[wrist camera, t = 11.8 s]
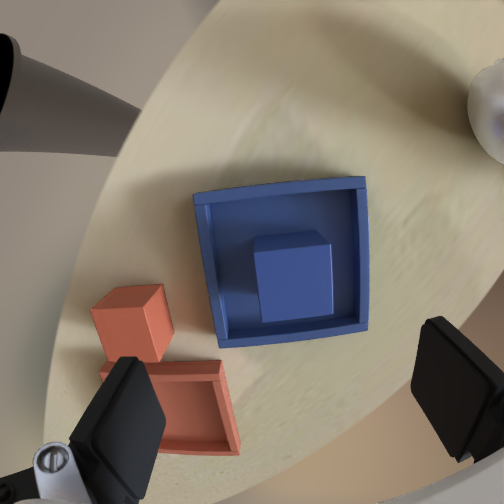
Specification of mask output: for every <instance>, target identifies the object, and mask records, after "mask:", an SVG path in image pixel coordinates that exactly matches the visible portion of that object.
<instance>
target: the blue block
mask: <svg viewBox="0 0 504 504" xmlns="http://www.w3.org/2000/svg"><path fill="white" fill-rule="evenodd" d="M253 258H254V266H255V274H256V282H257V290H258V299H259V307H260V315H261V322H262V323H264V322H273V321H282V320H291V319H299V318H307V317H315V316H322V315H330V314H333V277H332V254H331V244H330V243H329V242H328V241H327V240H326V239H325V238H324V237H323V236H322V235H321V234H320V233H319V232H318V231H317V230H312V231H302V232H293V233H284V234H275V235H266V236H257V237H254V246H253Z"/></svg>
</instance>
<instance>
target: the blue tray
mask: <svg viewBox="0 0 504 504" xmlns="http://www.w3.org/2000/svg"><path fill="white" fill-rule="evenodd" d="M193 201H194V205H195V206H194V208H195V215H196V222H197V228H198V235H199V241H200V247H201V253H202V259H203V265H204V271H205V277H206V283H207V288H208V294H209V299H210V305H211V310H212V315H213V321H214V326H215V331H216V336H217V339H218V346H219V348H233V347H246V346H257V345H267V344H277V343H286V342H295V341H303V340H310V339H317V338H325V337H331V336H338V335H344V334H350V333H356V332H362V331H367V330H368V321H369V292H370V250H369V220H368V202H367V189H366V177H365V176H348V177H333V178H320V179H308V180H297V181H287V182H277V183H267V184H259V185H250V186H242V187H234V188H226V189H219V190H212V191H205V192H198V193H195V194H193ZM312 230H317V231H318V232H319V233H320V234H321V235H322V236H323V237H324V238H325V239H326V240H327V241H328V242H329V243H330V244H331V254H332V277H333V314H330V315H322V316H315V317H307V318H299V319H291V320H282V321H273V322H264V323H262V322H261V315H260V307H259V299H258V290H257V282H256V274H255V266H254V258H253V246H254V237H257V236H266V235H275V234H284V233H293V232H302V231H312Z"/></svg>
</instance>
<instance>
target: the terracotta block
mask: <svg viewBox="0 0 504 504" xmlns="http://www.w3.org/2000/svg"><path fill="white" fill-rule="evenodd" d="M90 311H91V314H92V317H93V320H94V323H95V326H96V329H97V332H98V335H99V338H100V341H101V343H102V346H103V349H104V352H105V354H106V357H107V359H108V361H112V362H117V360H118V359H119V358H120V357H121V356H136V357H137V358H138V359H139V361H143V362H160V361H161V359H162V357H163V355H164V353H165V351H166V349H167V347H168V345H169V343H170V341H171V339H172V337H173V335H174V329H173V325H172V321H171V317H170V313H169V309H168V305H167V300H166V296H165V291H164V287H163V284H154V285H142V286H130V287H118V288H114V289H113V290H112V291H111V292H110V293H108V294H107V295H106V296H105V297H104V298H103V299H101V300H100V301H99V302H98V303H97V304H96V305H95V306H93V307H92V308H91V309H90Z"/></svg>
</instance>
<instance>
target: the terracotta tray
mask: <svg viewBox="0 0 504 504" xmlns="http://www.w3.org/2000/svg"><path fill="white" fill-rule="evenodd" d="M115 363H116V362H112V361H106V362H105V364H104V365H103V367H102V368H101V369H100V371H99V374H100V377H101V379H102V382H104V380H105V379H106V377H107V376H108V374H109V372H110V371H111V369H112V368H113V366H114V365H115ZM144 364H145V367H146V370H147V372H148V375H149V378H150V380H151V383H152V385H153V388H154V390H155V393H156V395H157V398H158V400H159V403H160V405H161V407H162V410H163V412H164V414H165V417H166V427H165V430H164V433H163V436H162V440H161V443H160V446H159V449H158V453H169V454H183V455H209V456H233V455H240V445H241V441H240V437H239V433H238V429H237V425H236V421H235V417H234V413H233V408H232V404H231V400H230V395H229V391H228V387H227V382H226V378H225V373H224V368H223V364H222V360H215V361H191V362H144Z"/></svg>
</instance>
